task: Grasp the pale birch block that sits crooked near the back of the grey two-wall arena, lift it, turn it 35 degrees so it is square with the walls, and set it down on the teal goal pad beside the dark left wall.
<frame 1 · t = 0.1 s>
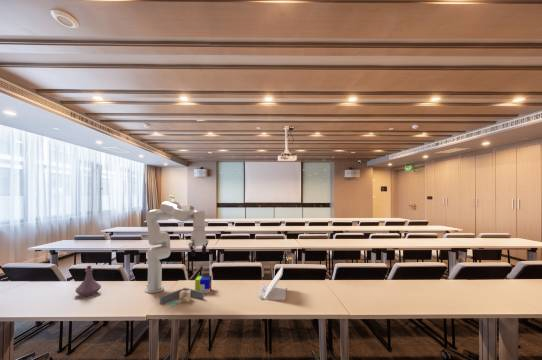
hand: (198, 254, 189), 31 cm above the table, fingers open, 9 cm apart
puzzle toy: (203, 291, 208), on the table
flask: (88, 294, 202), on the table
birch block: (185, 300, 188), point 1 cm above the table, touching arena
tablet stand: (273, 293, 204), on the table
arena: (182, 302, 188), on the table
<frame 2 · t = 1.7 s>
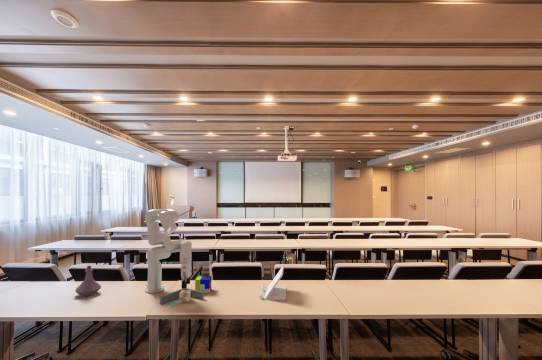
hand: (185, 286, 189), 10 cm above the table, fingers open, 9 cm apart
nothing on the table moved.
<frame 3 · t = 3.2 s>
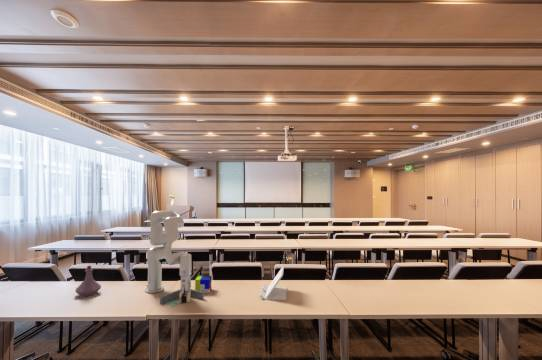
hand: (185, 299, 188), 1 cm above the table, fingers closed on birch block, 6 cm apart
birch block: (185, 300, 188), point 1 cm above the table, touching arena, gripper
everything else where it was.
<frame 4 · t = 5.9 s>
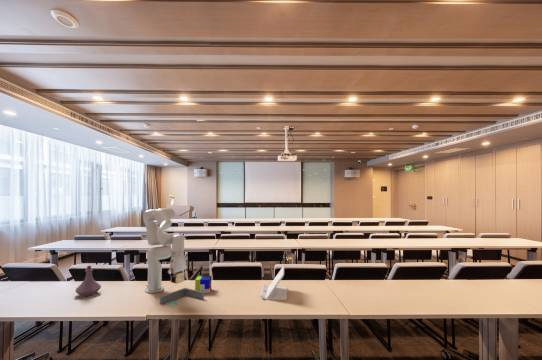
hand: (177, 280, 187), 14 cm above the table, fingers closed on birch block, 6 cm apart
birch block: (177, 281, 187), point 14 cm above the table, touching gripper
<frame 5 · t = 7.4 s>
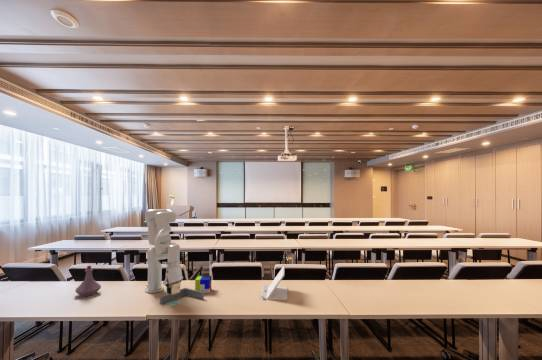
hand: (173, 291, 184), 8 cm above the table, fingers closed on birch block, 6 cm apart
birch block: (173, 292, 184), point 7 cm above the table, touching gripper
when the fingers open (2 cm above the table, at t = 8.9 s): birch block drops 1 cm, resting on arena.
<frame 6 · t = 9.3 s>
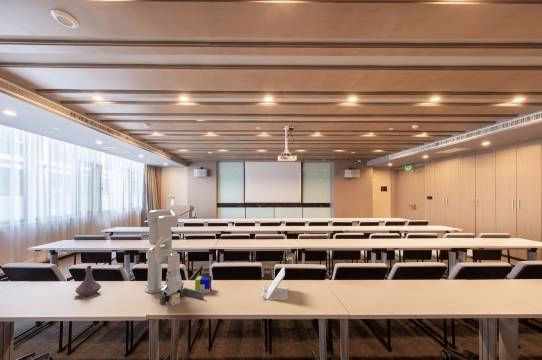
hand: (173, 299, 184), 3 cm above the table, fingers open, 9 cm apart
birch block: (172, 303, 184), point 1 cm above the table, touching arena
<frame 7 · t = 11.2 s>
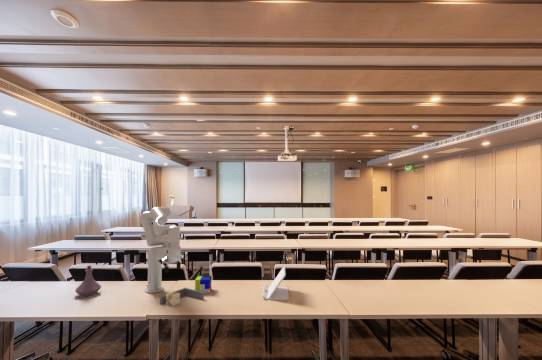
hand: (172, 270, 190), 20 cm above the table, fingers open, 9 cm apart
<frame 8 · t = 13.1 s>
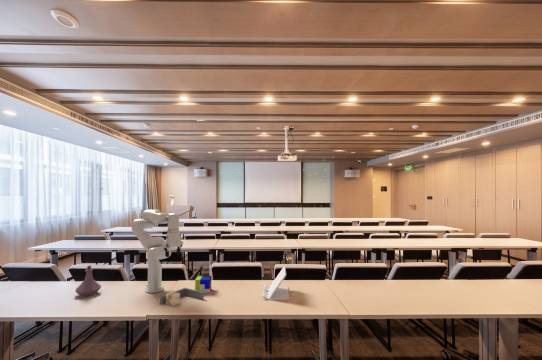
hand: (172, 255, 199), 28 cm above the table, fingers open, 9 cm apart
at the end: birch block 0.0 cm from the target spot on the arena, point 0.6 cm above the arena's base; birch block tilted 0°; the gripper is holding nothing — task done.
